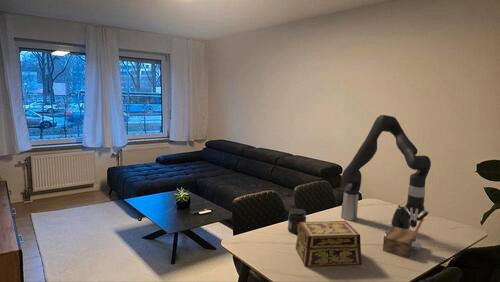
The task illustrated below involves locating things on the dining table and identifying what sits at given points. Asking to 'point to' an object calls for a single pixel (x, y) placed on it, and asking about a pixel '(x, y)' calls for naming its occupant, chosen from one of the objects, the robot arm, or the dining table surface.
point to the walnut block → (398, 241)
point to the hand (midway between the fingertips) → (413, 226)
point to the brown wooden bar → (413, 244)
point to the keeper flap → (417, 228)
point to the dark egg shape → (400, 219)
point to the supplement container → (295, 219)
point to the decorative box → (328, 244)
